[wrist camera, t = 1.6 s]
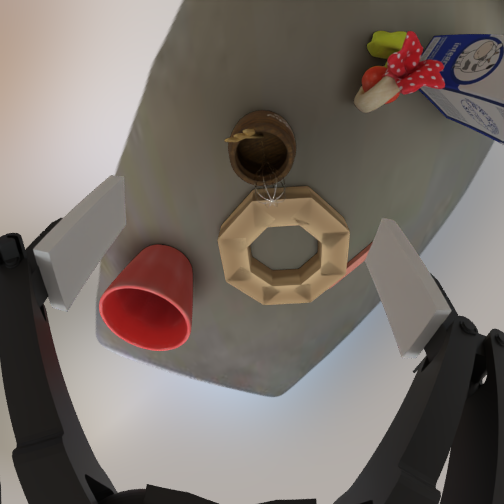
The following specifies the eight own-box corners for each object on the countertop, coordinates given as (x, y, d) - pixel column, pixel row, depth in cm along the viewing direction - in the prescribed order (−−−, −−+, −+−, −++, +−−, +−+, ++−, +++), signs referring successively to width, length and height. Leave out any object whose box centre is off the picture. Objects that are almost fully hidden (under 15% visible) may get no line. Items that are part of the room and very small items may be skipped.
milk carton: (435, 34, 19) (588, 46, 3) (474, 76, 21) (616, 129, 5) (404, 78, 23) (557, 125, 7) (445, 119, 25) (583, 201, 8)
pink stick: (382, 232, 33) (384, 236, 33) (386, 236, 34) (388, 240, 33) (324, 282, 38) (325, 286, 38) (328, 284, 38) (329, 289, 38)
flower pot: (214, 295, 41) (202, 352, 33) (143, 299, 42) (122, 350, 34) (194, 228, 35) (172, 283, 27) (116, 239, 36) (82, 288, 28)
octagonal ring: (278, 161, 29) (279, 171, 27) (365, 238, 34) (372, 252, 32) (201, 248, 36) (196, 262, 34) (287, 303, 41) (287, 319, 38)
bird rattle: (381, 107, 27) (437, 57, 20) (391, 166, 21) (475, 100, 14) (336, 70, 25) (391, 13, 18) (331, 116, 19) (415, 33, 12)
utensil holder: (250, 174, 30) (241, 234, 21) (220, 122, 27) (193, 156, 18) (302, 151, 29) (321, 201, 19) (275, 96, 26) (280, 113, 16)
